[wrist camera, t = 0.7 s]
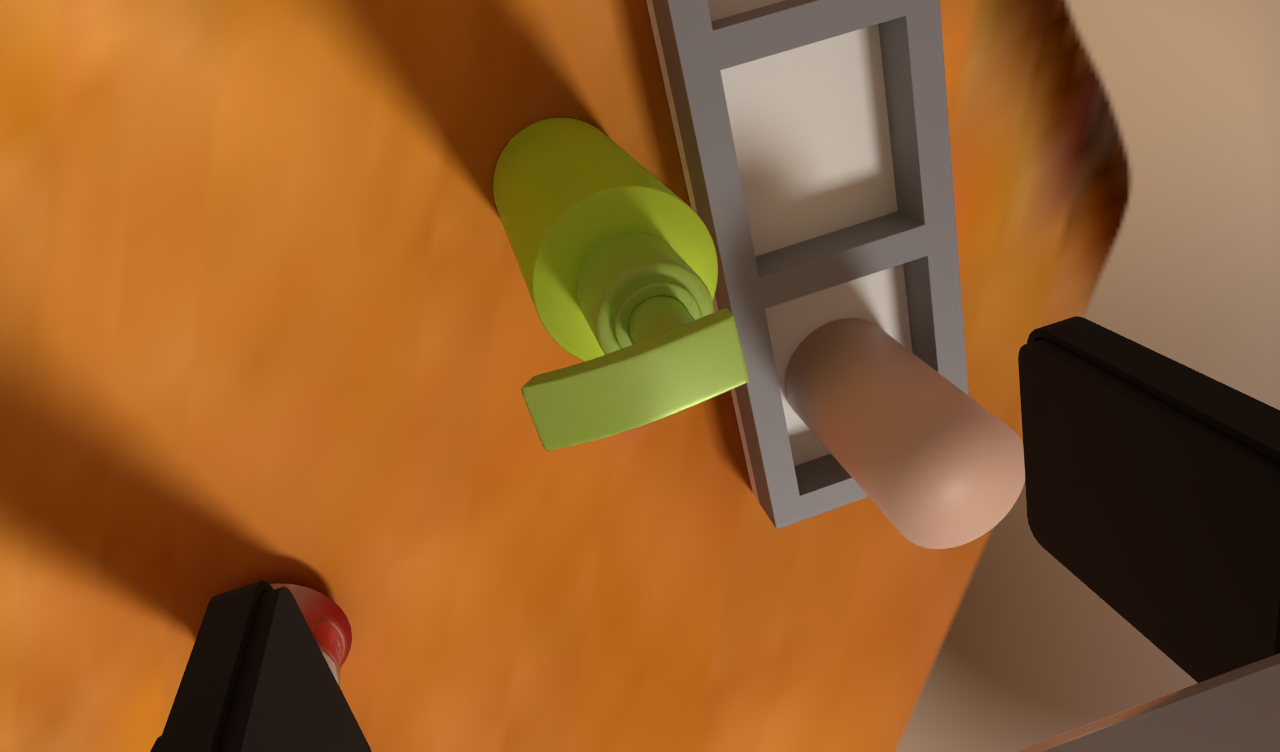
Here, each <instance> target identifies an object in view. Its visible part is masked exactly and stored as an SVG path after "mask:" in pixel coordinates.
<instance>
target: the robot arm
mask: <svg viewBox="0 0 1280 752" xmlns="http://www.w3.org/2000/svg"><path fill="white" fill-rule="evenodd" d="M1018 361H1019V379H1020V396H1021V413H1022V431H1023V448H1024V465H1025V483H1026V500H1027V517H1028V523H1029V526H1030V529H1031V531H1032V533H1033V535H1034V537H1035V538H1036V540H1037V541H1038V543H1040V545H1041V546H1042V547H1043V548H1044V549H1045V550H1047V551H1048V552H1049V553H1050V554H1051V555H1052V556H1054V557H1055V558H1056V559H1057V560H1058V561H1059V562H1060V563H1062V564H1063V565H1064V566H1065V567H1066V568H1067V569H1068V570H1069V571H1071V572H1072V573H1073V574H1074V575H1075V576H1076V577H1078V578H1079V579H1080V580H1081V581H1082V582H1084V584H1086V585H1087V586H1088V587H1089V588H1090V589H1091V590H1093V591H1094V592H1095V593H1096V594H1097V595H1098V596H1099V597H1100V598H1102V599H1103V600H1104V601H1105V602H1106V603H1107V604H1108V605H1110V606H1111V607H1112V608H1113V609H1114V610H1115V611H1117V612H1118V613H1119V614H1120V615H1121V616H1122V617H1123V618H1125V619H1126V620H1127V621H1128V622H1129V623H1130V624H1131V625H1132V626H1134V627H1135V628H1136V629H1137V630H1138V631H1139V632H1140V633H1142V634H1143V635H1144V636H1145V637H1146V638H1147V639H1149V640H1150V641H1151V642H1152V643H1153V644H1154V645H1155V646H1157V647H1158V648H1159V649H1160V650H1161V651H1162V652H1163V653H1165V654H1166V655H1167V656H1168V657H1169V658H1170V659H1172V660H1173V661H1174V662H1175V663H1176V664H1177V665H1178V666H1179V667H1181V668H1182V669H1183V670H1184V671H1185V672H1187V673H1188V674H1189V675H1190V676H1191V677H1192V678H1193V679H1195V680H1196V681H1197V682H1198V684H1195V685H1193V686H1190V687H1187V688H1184V689H1182V690H1179V691H1176V692H1174V693H1171V694H1169V695H1166V696H1163V697H1160V698H1157V699H1155V700H1152V701H1149V702H1147V703H1144V704H1141V705H1139V706H1136V707H1133V708H1131V709H1128V710H1125V711H1123V712H1120V713H1117V714H1115V715H1112V716H1110V717H1107V718H1104V719H1101V720H1098V721H1096V722H1093V723H1090V724H1088V725H1085V726H1082V727H1080V728H1077V729H1074V730H1072V731H1069V732H1066V733H1064V734H1061V735H1058V736H1056V737H1053V738H1050V739H1048V740H1045V741H1042V742H1040V743H1037V744H1034V745H1032V746H1029V747H1026V748H1024V749H1021V750H1018V751H1016V752H1280V410H1277V409H1275V408H1273V407H1271V406H1269V405H1267V404H1265V403H1263V402H1260V401H1258V400H1256V399H1254V398H1252V397H1250V396H1248V395H1246V394H1244V393H1242V392H1240V391H1237V390H1235V389H1233V388H1231V387H1229V386H1227V385H1225V384H1223V383H1220V382H1218V381H1216V380H1214V379H1212V378H1210V377H1208V376H1206V375H1204V374H1201V373H1199V372H1197V371H1195V370H1193V369H1191V368H1189V367H1187V366H1185V365H1182V364H1180V363H1178V362H1176V361H1174V360H1172V359H1170V358H1168V357H1166V356H1163V355H1161V354H1159V353H1157V352H1155V351H1153V350H1151V349H1149V348H1146V347H1144V346H1142V345H1140V344H1138V343H1136V342H1134V341H1132V340H1130V339H1127V338H1125V337H1123V336H1121V335H1119V334H1117V333H1115V332H1112V331H1111V330H1108V329H1106V328H1104V327H1102V326H1100V325H1098V324H1096V323H1094V322H1092V321H1089V320H1087V319H1085V318H1082V317H1078V316H1077V317H1072V318H1069V319H1066V320H1063V321H1060V322H1057V323H1053V324H1050V325H1047V326H1044V327H1041V328H1038V329H1035V330H1033V331H1032V332H1031V333H1030V335H1029V338H1028V340H1027V344H1025V345H1023V346H1022V347H1021V348H1020V351H1019V357H1018ZM151 752H371V749H370V747H369V745H368V743H367V741H366V739H365V737H364V735H363V733H362V731H361V729H360V727H359V725H358V723H357V721H356V719H355V717H354V715H353V713H352V711H351V709H350V707H349V705H348V703H347V701H346V699H345V697H344V695H343V693H342V691H341V689H340V687H339V685H338V683H337V681H336V679H335V677H334V675H333V673H332V671H331V669H330V667H329V665H328V663H327V661H326V659H325V657H324V655H323V653H322V651H321V649H320V647H319V646H318V644H317V642H316V640H315V638H314V636H313V634H312V632H311V630H310V628H309V626H308V624H307V622H306V620H305V618H304V616H303V614H302V612H301V610H300V608H299V606H298V604H297V602H296V600H295V598H294V596H293V594H292V593H291V591H290V590H289V589H288V588H287V587H284V586H283V587H280V588H277V589H273V587H272V586H271V585H270V584H269V583H268V582H266V581H264V580H262V581H259V582H256V583H253V584H249V585H246V586H243V587H240V588H237V589H234V590H231V591H228V592H225V593H222V594H219V595H216V596H214V597H212V599H211V600H210V602H209V604H208V607H207V610H206V613H205V616H204V618H203V621H202V624H201V627H200V630H199V632H198V635H197V638H196V641H195V644H194V647H193V649H192V652H191V655H190V658H189V661H188V663H187V666H186V669H185V672H184V675H183V678H182V680H181V683H180V686H179V689H178V692H177V694H176V697H175V700H174V703H173V706H172V709H171V711H170V714H169V717H168V720H167V723H166V725H165V728H164V731H163V734H162V735H161V736H160V737H159V738H157V740H156V742H155V744H154V746H153V747H152V749H151Z"/></svg>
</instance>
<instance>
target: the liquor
mask: <svg viewBox="0 0 1280 752" xmlns="http://www.w3.org/2000/svg"><path fill="white" fill-rule="evenodd" d="M270 585H271V586H272V587H273V589H277V588H280V587H283V586H284V587H287V588H288V589H289V590H290V591H291V593H292V594H293V596H294V598H295V600H296V602H297V604H298V606H299V608H300V610H301V612H302V614H303V616H304V618H305V620H306V622H307V624H308V626H309V628H310V630H311V632H312V634H313V636H314V638H315V640H316V642H317V644H318V646H319V647H320V649H321V651H322V653H323V655H324V657H325V659H326V661H327V663H328V665H329V667H330V669H331V671H332V673H333V675H334V677H335V679H336V681H337V683H338V685H339V682H340V667H341V666H342V664H343V663H344V662H345V660H346V658H347V656H348V654H349V651H350V648H351V642H352V634H351V627H350V624H349V621H348V619H347V617H346V615H345V614H344V612H343V611H342V609H341V608H340V607H339V606H338V605H337V604H336V603H335V602H334V601H333V600H332V599H330V598H328V597H327V596H325V595H324V594H322V593H320V592H318V591H315V590H313V589H310V588H308V587H304V586H299V585H294V584H281V583H276V584H270Z"/></svg>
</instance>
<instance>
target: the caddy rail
mask: <svg viewBox="0 0 1280 752" xmlns="http://www.w3.org/2000/svg"><path fill="white" fill-rule="evenodd" d="M646 2H647V7H648V12H649V16H650V21H651V25H652V30H653V35H654V39H655V44H656V48H657V53H658V58H659V62H660V67H661V72H662V76H663V81H664V85H665V90H666V95H667V99H668V104H669V108H670V113H671V118H672V122H673V127H674V132H675V136H676V141H677V145H678V150H679V155H680V159H681V164H682V168H683V173H684V178H685V182H686V187H687V192H688V196H689V201H690V205H691V208H692V209H693V210H694V211H695V212H696V213H697V214H698V216H699V217H700V218H701V219H702V221H703V222H704V224H705V225H706V227H707V229H708V231H709V233H710V235H711V237H712V240H713V243H714V246H715V249H716V254H717V261H718V279H717V286H716V291H715V295H714V298H713V301H712V302H713V307H714V312H717V311H719V310H722V309H724V308H727V309H728V310H729V311H730V313H731V314H732V315H733V316H734V319H735V323H736V327H737V331H738V335H739V339H740V343H741V347H742V351H743V355H744V359H745V363H746V367H747V371H748V375H749V379H750V381H749V382H748V383H746V384H743V385H741V386H739V387H736V388H734V389H732V390H731V395H732V399H733V404H734V409H735V413H736V418H737V422H738V427H739V432H740V436H741V441H742V446H743V450H744V455H745V459H746V464H747V469H748V473H749V478H750V482H751V487H752V492H753V494H754V496H755V497H756V499H757V500H758V502H759V503H760V505H761V506H762V508H763V509H764V511H765V512H766V514H767V515H768V517H769V518H770V520H771V521H772V523H773V524H774V526H775V527H776V529H779V528H782V527H785V526H788V525H790V524H793V523H796V522H799V521H802V520H804V519H807V518H810V517H813V516H816V515H818V514H821V513H824V512H827V511H830V510H832V509H835V508H838V507H841V506H844V505H847V504H849V503H852V502H855V501H858V500H861V499H863V498H866V497H869V498H870V499H871V500H872V501H873V502H874V503H875V504H876V506H877V507H878V508H879V509H880V510H881V511H882V512H883V514H884V515H885V516H886V517H887V518H888V519H889V520H890V522H891V523H892V524H893V525H894V526H895V527H896V528H897V530H898V531H899V532H900V533H901V534H902V535H903V536H904V537H905V538H906V539H907V540H909V541H910V542H912V543H914V544H916V545H918V546H921V547H925V548H930V549H945V548H952V547H956V546H960V545H963V544H966V543H968V542H970V541H973V540H975V539H976V538H978V537H980V536H982V535H983V534H985V533H986V532H988V531H989V530H991V529H992V528H993V527H994V526H995V525H997V524H998V523H999V522H1000V521H1001V520H1002V519H1003V518H1004V517H1005V515H1006V514H1007V513H1008V512H1009V511H1010V509H1011V508H1012V506H1013V505H1014V504H1015V502H1016V500H1017V498H1018V497H1019V495H1020V493H1021V490H1022V488H1023V485H1024V482H1025V465H1024V448H1023V443H1022V441H1021V439H1020V438H1019V436H1018V435H1017V434H1016V433H1015V432H1014V431H1013V430H1012V429H1011V428H1010V427H1009V426H1007V425H1006V424H1005V423H1003V422H1002V421H1001V420H999V419H998V418H997V417H995V416H994V415H993V414H992V413H990V412H989V411H988V410H986V409H985V408H984V407H982V406H981V405H980V404H979V403H977V402H976V401H975V400H973V399H972V398H971V397H969V395H968V382H967V368H966V354H965V341H964V327H963V313H962V300H961V286H960V272H959V259H958V245H957V231H956V218H955V204H954V190H953V177H952V163H951V149H950V136H949V122H948V108H947V95H946V81H945V68H944V54H943V40H942V27H941V13H940V0H646Z"/></svg>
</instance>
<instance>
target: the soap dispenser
mask: <svg viewBox="0 0 1280 752" xmlns="http://www.w3.org/2000/svg"><path fill="white" fill-rule="evenodd" d="M493 194H494V200H495V204H496V207H497V210H498V213H499V215H500V218H501V220H502V223H503V226H504V228H505V231H506V233H507V236H508V238H509V241H510V244H511V246H512V249H513V251H514V254H515V256H516V259H517V262H518V264H519V267H520V269H521V272H522V274H523V277H524V280H525V282H526V285H527V287H528V290H529V292H530V295H531V298H532V300H533V303H534V305H535V308H536V310H537V313H538V315H539V318H540V320H541V322H542V324H543V325H544V327H545V329H546V330H547V332H548V333H549V334H550V336H551V337H552V338H553V339H554V340H555V341H556V342H557V343H558V344H559V345H560V346H561V347H562V348H563V349H565V350H566V351H567V352H569V353H570V354H572V355H573V356H575V357H577V358H579V359H581V360H583V361H586V362H582V363H579V364H576V365H573V366H569V367H566V368H562V369H559V370H555V371H551V372H547V373H543V374H540V375H537V376H534V377H533V378H532V379H531V380H529V381H528V382H527V383H526V384H525V385H524V386H523V387H522V389H521V390H522V394H523V396H524V399H525V401H526V404H527V407H528V409H529V412H530V414H531V417H532V420H533V422H534V425H535V427H536V430H537V432H538V435H539V437H540V440H541V442H542V445H543V447H544V449H545V450H554V449H559V448H564V447H569V446H573V445H577V444H581V443H586V442H590V441H594V440H597V439H601V438H605V437H608V436H612V435H615V434H619V433H622V432H625V431H628V430H631V429H634V428H637V427H640V426H643V425H646V424H649V423H652V422H654V421H657V420H660V419H662V418H665V417H667V416H670V415H672V414H675V413H677V412H680V411H682V410H685V409H687V408H690V407H692V406H695V405H697V404H699V403H702V402H704V401H706V400H709V399H711V398H713V397H716V396H718V395H720V394H723V393H725V392H727V391H730V390H732V389H734V388H736V387H739V386H741V385H743V384H746V383H748V382H749V381H750V379H749V375H748V371H747V367H746V363H745V359H744V355H743V351H742V347H741V343H740V339H739V335H738V331H737V327H736V323H735V319H734V316H733V315H732V314H731V313H730V311H729V310H728V309H727V308H724V309H722V310H719V311H717V312H714V307H713V302H712V301H713V298H714V295H715V291H716V286H717V279H718V261H717V254H716V249H715V246H714V243H713V240H712V237H711V235H710V233H709V231H708V229H707V227H706V225H705V224H704V222H703V221H702V219H701V218H700V217H699V216H698V214H697V213H696V212H695V211H694V210H693V209H692V208H691V207H690V206H688V205H687V204H686V203H685V202H684V201H683V200H681V199H680V198H679V197H678V196H677V195H676V194H674V193H673V192H672V191H671V190H670V189H669V188H667V187H666V186H665V185H664V184H663V183H661V182H660V181H659V180H658V179H657V178H656V177H654V176H653V175H652V174H651V173H650V172H649V171H647V170H646V169H645V168H644V167H643V166H642V165H640V164H639V163H638V162H637V161H636V160H634V159H633V158H632V157H631V156H630V155H629V154H627V153H626V152H625V151H624V150H623V149H622V148H620V147H619V146H618V145H617V144H616V143H615V142H613V141H612V140H611V139H610V138H609V137H607V136H606V135H605V134H604V133H603V132H601V131H600V130H599V129H597V128H596V127H594V126H592V125H590V124H588V123H586V122H583V121H581V120H577V119H572V118H563V117H559V118H549V119H544V120H541V121H538V122H535V123H533V124H531V125H529V126H527V127H526V128H524V129H522V130H521V131H520V132H518V133H517V134H516V135H515V136H514V137H513V138H512V139H511V140H510V141H509V142H508V144H507V145H506V146H505V148H504V149H503V151H502V153H501V155H500V157H499V159H498V161H497V164H496V167H495V171H494V177H493Z"/></svg>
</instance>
